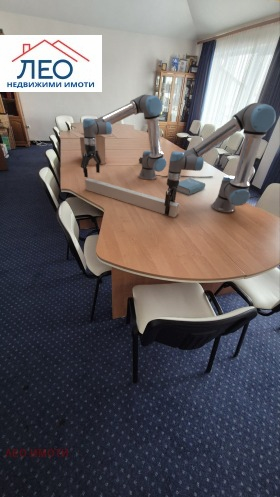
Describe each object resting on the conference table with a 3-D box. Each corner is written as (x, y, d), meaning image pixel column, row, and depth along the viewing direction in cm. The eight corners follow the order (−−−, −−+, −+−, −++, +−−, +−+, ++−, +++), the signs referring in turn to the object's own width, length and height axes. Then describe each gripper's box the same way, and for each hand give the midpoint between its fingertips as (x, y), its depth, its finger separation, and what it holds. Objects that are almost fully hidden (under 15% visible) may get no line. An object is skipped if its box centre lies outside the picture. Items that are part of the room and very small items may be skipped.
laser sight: (158, 166, 235) (159, 156, 229) (137, 164, 238) (138, 154, 232) (159, 164, 243) (160, 154, 237) (139, 161, 245) (140, 152, 239)
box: (116, 165, 229) (116, 136, 213) (83, 168, 214) (80, 137, 198) (102, 154, 259) (101, 128, 243) (71, 156, 244) (68, 129, 228)
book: (188, 183, 198) (190, 178, 195) (204, 189, 190) (205, 183, 187) (173, 189, 185) (174, 183, 182) (188, 195, 176) (190, 189, 173)
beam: (85, 189, 174) (84, 179, 169) (89, 187, 177) (89, 177, 172) (174, 217, 145) (176, 206, 141) (177, 214, 149) (179, 203, 144)
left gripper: (81, 148, 143) (84, 180, 156) (105, 142, 161) (106, 171, 174) (73, 146, 146) (76, 178, 159) (97, 140, 164) (98, 169, 176)
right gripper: (173, 184, 127) (167, 219, 141) (184, 176, 140) (178, 209, 154) (161, 181, 130) (157, 216, 144) (173, 173, 143) (168, 206, 157)
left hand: (92, 174), depth 166 cm, fingers open, 13 cm apart
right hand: (168, 212), depth 149 cm, fingers closed on beam, 5 cm apart
